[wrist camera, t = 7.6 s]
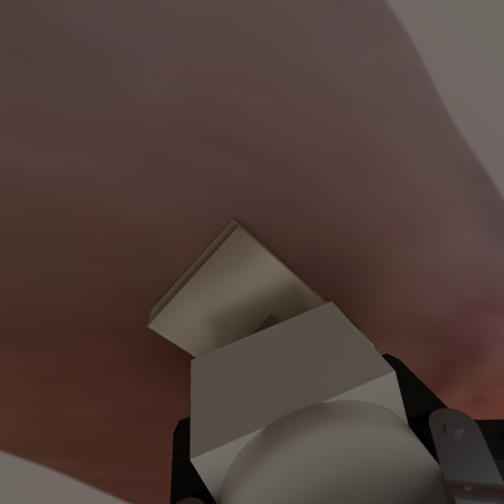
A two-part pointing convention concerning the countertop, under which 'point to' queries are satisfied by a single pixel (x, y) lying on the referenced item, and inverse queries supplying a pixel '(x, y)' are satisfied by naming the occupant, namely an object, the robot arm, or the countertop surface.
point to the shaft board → (231, 295)
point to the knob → (306, 420)
